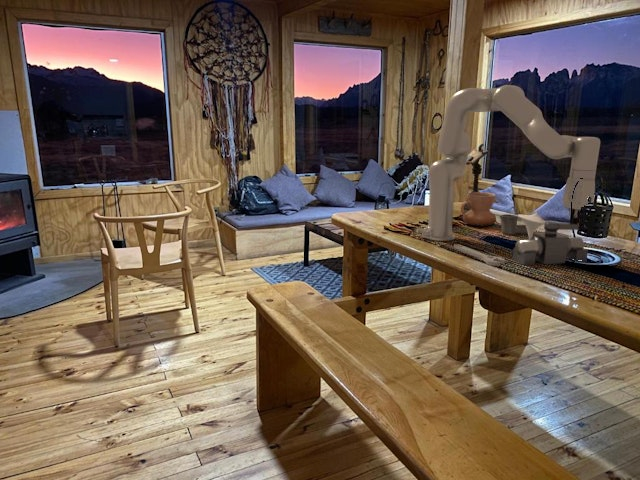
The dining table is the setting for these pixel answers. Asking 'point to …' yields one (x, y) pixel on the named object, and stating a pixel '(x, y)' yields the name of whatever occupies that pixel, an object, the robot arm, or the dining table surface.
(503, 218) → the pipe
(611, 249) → the dining table surface
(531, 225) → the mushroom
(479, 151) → the bird statue
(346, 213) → the dining table surface
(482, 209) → the ceramic jug
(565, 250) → the valve body
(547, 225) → the lever
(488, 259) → the adjustable wrench
